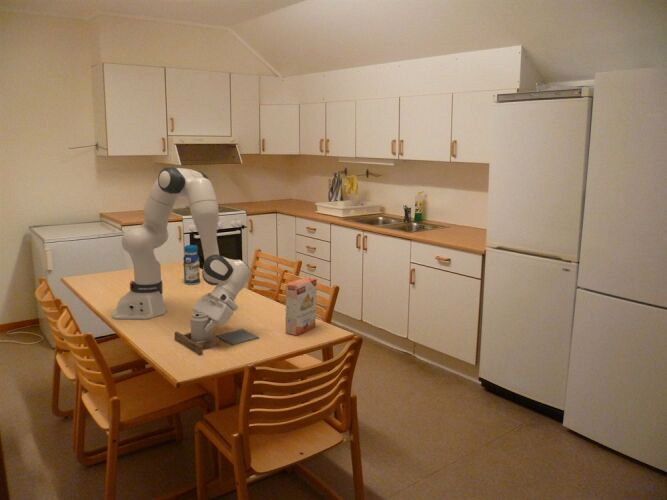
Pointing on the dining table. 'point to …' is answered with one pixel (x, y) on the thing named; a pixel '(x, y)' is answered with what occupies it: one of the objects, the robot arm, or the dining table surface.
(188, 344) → the walnut cradle
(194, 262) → the beverage bottle
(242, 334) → the slate mat
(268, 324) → the dining table surface
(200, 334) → the can
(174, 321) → the dining table surface
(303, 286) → the cracker box
